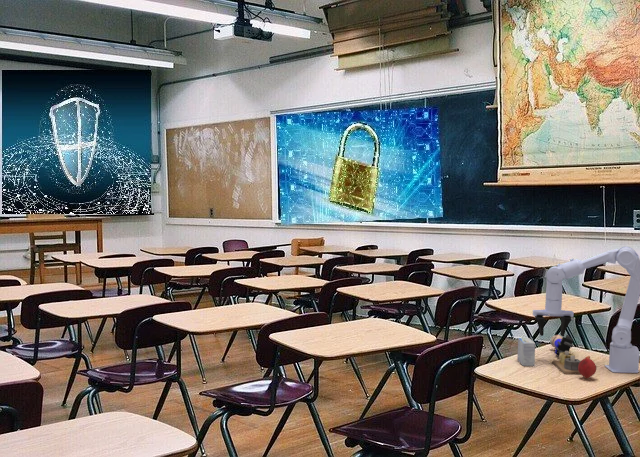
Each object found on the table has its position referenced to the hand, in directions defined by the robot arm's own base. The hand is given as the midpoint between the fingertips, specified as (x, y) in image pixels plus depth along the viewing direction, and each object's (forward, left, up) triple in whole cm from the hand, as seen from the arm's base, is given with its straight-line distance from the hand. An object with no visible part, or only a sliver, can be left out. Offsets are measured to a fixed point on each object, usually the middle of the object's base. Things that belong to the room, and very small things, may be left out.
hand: (551, 335), depth 274 cm
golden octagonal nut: (-4, +6, -9) cm, 11 cm away
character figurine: (-8, -11, -10) cm, 17 cm away
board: (-5, +9, -10) cm, 14 cm away
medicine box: (+10, +3, -10) cm, 15 cm away
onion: (-6, +21, -10) cm, 24 cm away
